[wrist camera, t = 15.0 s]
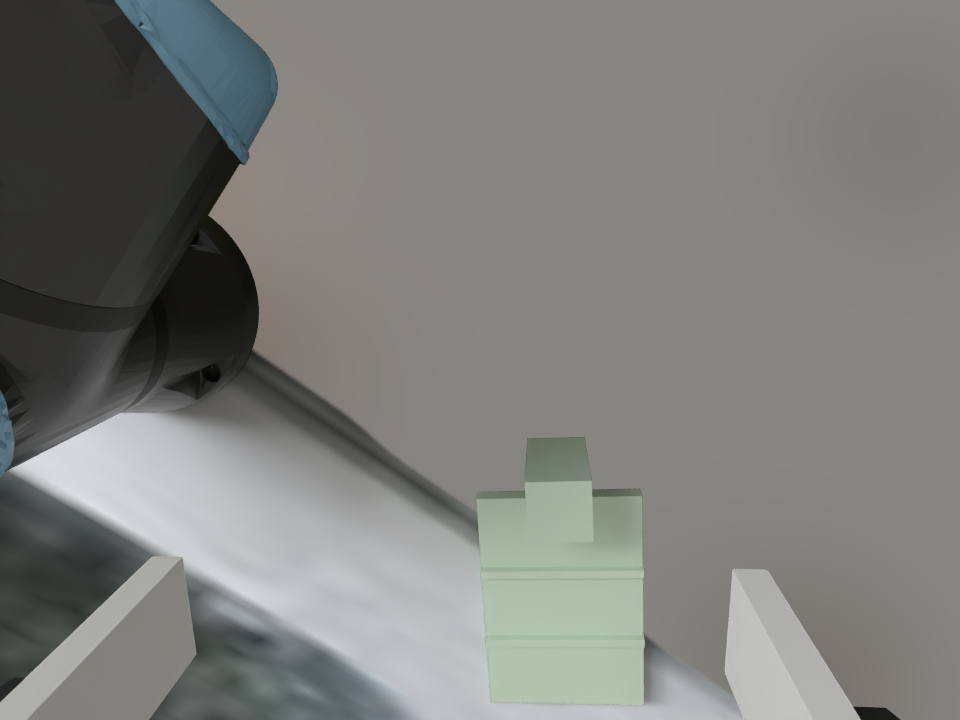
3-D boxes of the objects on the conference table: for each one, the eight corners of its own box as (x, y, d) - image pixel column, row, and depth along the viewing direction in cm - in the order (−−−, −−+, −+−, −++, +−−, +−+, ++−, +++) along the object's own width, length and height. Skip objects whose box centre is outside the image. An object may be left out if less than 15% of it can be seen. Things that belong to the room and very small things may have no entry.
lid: (491, 691, 52) (483, 770, 45) (474, 440, 48) (461, 483, 40) (641, 693, 51) (657, 775, 44) (639, 435, 46) (657, 479, 39)
